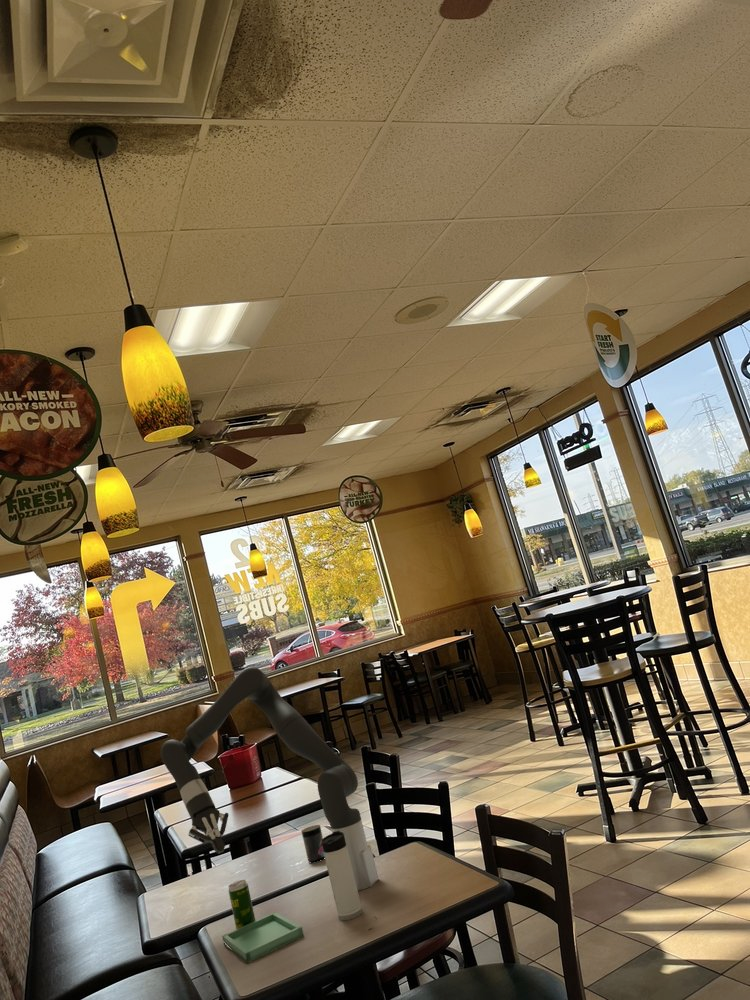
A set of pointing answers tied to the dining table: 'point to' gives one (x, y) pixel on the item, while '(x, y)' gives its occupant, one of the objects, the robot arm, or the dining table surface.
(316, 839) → the supplement container
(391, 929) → the dining table surface
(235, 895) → the beer can
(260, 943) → the tray
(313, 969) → the dining table surface
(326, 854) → the travel mug
